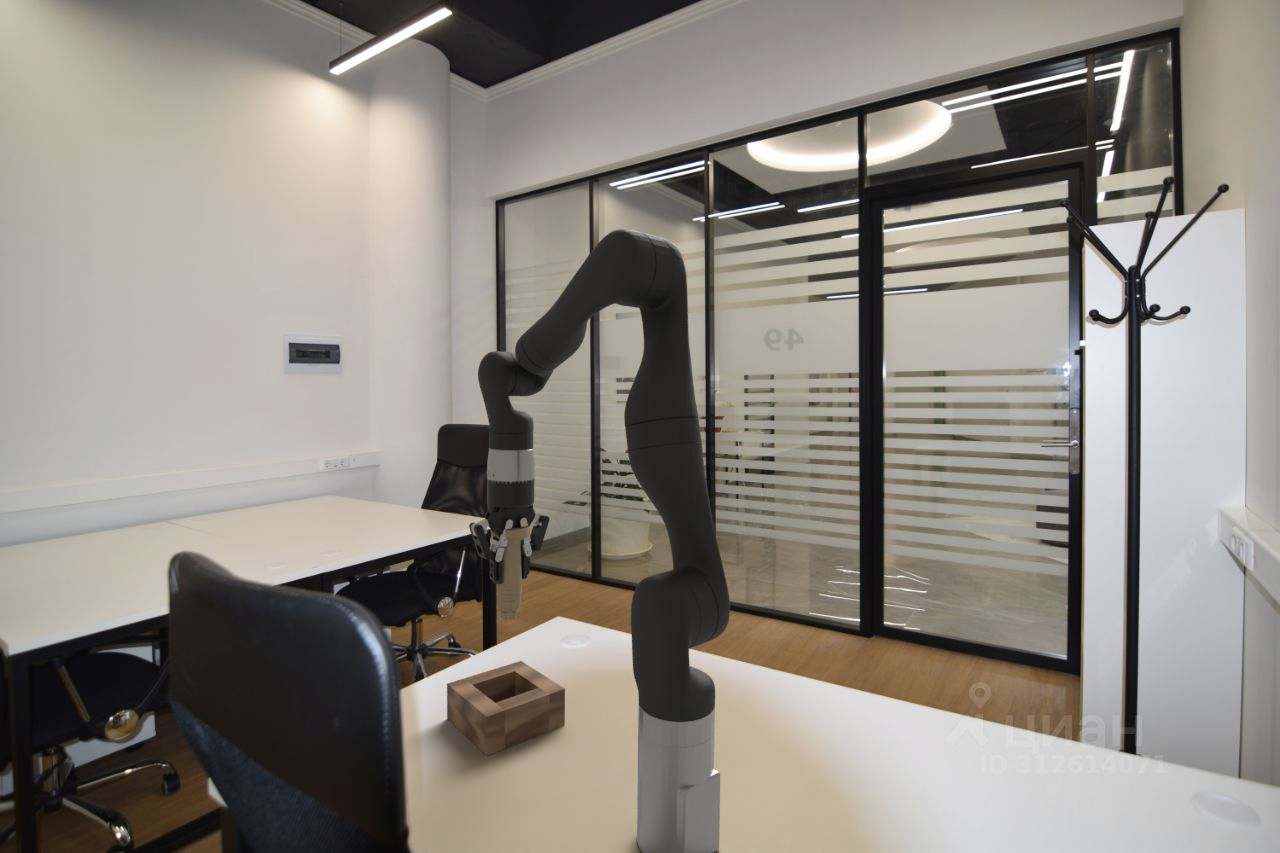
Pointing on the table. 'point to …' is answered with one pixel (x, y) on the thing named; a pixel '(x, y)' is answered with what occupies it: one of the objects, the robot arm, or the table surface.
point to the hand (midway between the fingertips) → (510, 579)
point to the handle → (511, 574)
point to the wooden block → (505, 706)
